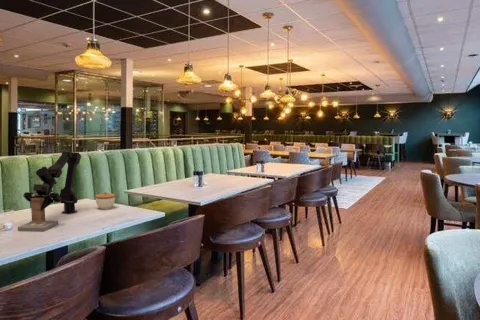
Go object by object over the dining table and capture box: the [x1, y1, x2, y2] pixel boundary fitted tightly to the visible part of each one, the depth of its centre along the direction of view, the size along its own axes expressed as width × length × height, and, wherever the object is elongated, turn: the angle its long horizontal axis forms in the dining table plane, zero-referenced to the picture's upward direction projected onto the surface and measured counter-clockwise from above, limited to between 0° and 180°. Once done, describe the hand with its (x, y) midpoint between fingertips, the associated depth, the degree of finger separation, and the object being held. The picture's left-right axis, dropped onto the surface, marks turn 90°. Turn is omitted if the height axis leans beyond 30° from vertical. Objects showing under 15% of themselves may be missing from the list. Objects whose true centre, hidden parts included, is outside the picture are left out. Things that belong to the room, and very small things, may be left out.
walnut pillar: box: [30, 197, 46, 223], centre depth 191 cm, size 5×5×13 cm
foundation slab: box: [17, 219, 59, 233], centre depth 192 cm, size 14×14×2 cm
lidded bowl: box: [94, 191, 116, 210], centre depth 237 cm, size 13×13×11 cm
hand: (36, 210), depth 190 cm, fingers closed on walnut pillar, 5 cm apart
